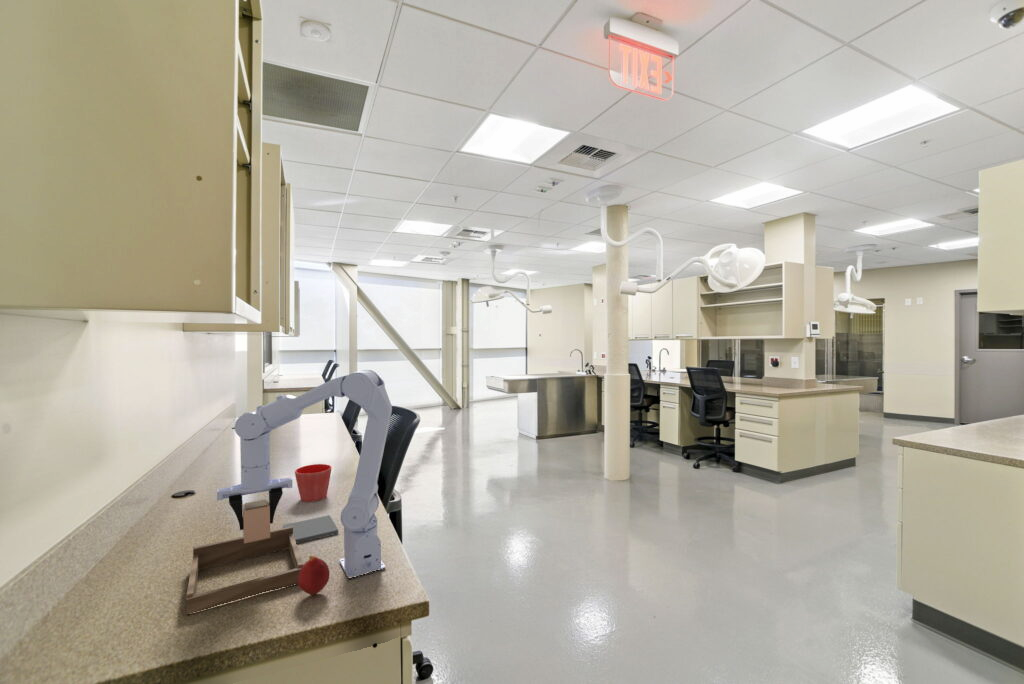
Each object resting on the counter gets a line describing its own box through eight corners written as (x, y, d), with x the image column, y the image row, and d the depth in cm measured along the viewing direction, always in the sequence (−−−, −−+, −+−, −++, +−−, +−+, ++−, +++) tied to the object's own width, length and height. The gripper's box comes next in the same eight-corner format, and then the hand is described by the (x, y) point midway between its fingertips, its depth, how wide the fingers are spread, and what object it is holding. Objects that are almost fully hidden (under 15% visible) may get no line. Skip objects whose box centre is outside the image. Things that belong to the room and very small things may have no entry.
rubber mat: (338, 533, 116) (338, 529, 116) (287, 545, 109) (287, 541, 109) (329, 518, 126) (329, 515, 126) (282, 528, 119) (282, 525, 119)
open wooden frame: (304, 582, 92) (304, 558, 92) (186, 615, 81) (186, 589, 81) (292, 546, 109) (292, 526, 109) (193, 569, 98) (193, 547, 98)
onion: (321, 583, 92) (320, 545, 92) (335, 593, 88) (334, 553, 88) (292, 596, 87) (292, 556, 87) (306, 607, 84) (305, 565, 84)
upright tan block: (270, 537, 97) (269, 504, 97) (243, 543, 94) (243, 509, 94) (268, 529, 101) (267, 498, 101) (243, 535, 99) (242, 503, 99)
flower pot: (323, 503, 137) (322, 473, 137) (288, 504, 138) (288, 473, 138) (337, 492, 148) (336, 463, 148) (305, 492, 148) (305, 464, 148)
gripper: (289, 455, 105) (290, 512, 105) (216, 465, 97) (217, 526, 97) (293, 462, 99) (294, 521, 99) (216, 473, 91) (217, 538, 91)
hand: (256, 525), depth 98 cm, fingers closed on upright tan block, 5 cm apart
